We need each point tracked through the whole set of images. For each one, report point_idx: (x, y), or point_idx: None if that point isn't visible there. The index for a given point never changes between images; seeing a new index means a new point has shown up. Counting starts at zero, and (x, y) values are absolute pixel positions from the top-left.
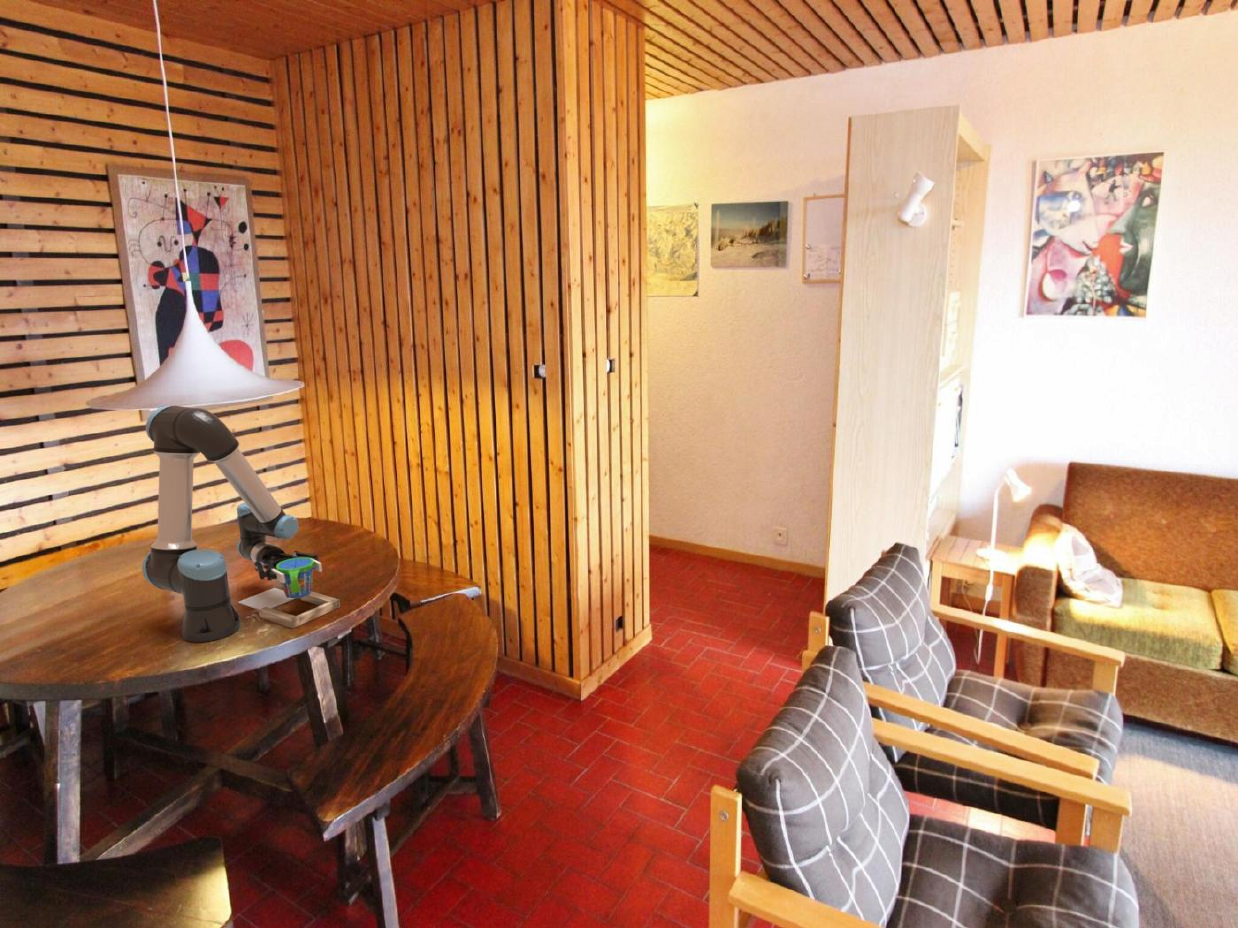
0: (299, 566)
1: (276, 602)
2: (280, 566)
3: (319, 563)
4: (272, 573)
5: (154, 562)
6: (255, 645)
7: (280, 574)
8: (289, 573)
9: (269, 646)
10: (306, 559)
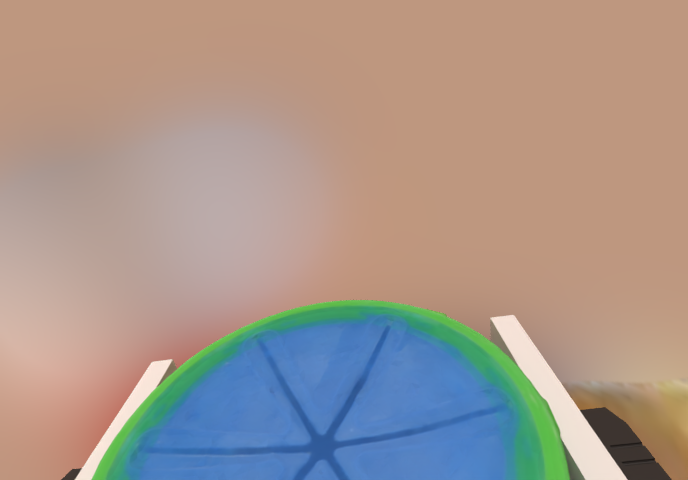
0: (312, 383)
1: None
2: (502, 478)
3: (167, 361)
4: (622, 457)
5: None
6: (670, 428)
7: (522, 329)
8: (445, 315)
9: (598, 389)
10: None
